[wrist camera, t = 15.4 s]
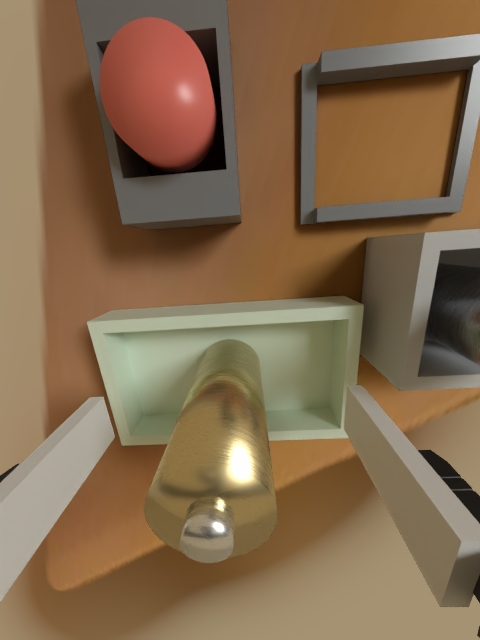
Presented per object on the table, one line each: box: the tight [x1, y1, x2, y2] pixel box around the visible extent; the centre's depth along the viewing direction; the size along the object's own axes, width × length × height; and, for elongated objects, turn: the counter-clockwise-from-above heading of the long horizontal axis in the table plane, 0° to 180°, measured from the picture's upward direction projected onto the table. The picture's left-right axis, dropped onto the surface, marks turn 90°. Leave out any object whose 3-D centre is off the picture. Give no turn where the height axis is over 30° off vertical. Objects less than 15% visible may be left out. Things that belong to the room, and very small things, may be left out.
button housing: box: [76, 0, 242, 230], centre depth 12 cm, size 9×7×4 cm
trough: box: [87, 296, 364, 446], centre depth 16 cm, size 10×17×3 cm, turn 94°
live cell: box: [144, 339, 277, 563], centre depth 12 cm, size 4×4×11 cm
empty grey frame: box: [300, 34, 480, 225], centre depth 13 cm, size 8×10×1 cm
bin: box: [360, 229, 480, 391], centre depth 13 cm, size 8×8×5 cm
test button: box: [100, 17, 217, 173], centre depth 10 cm, size 4×4×2 cm
